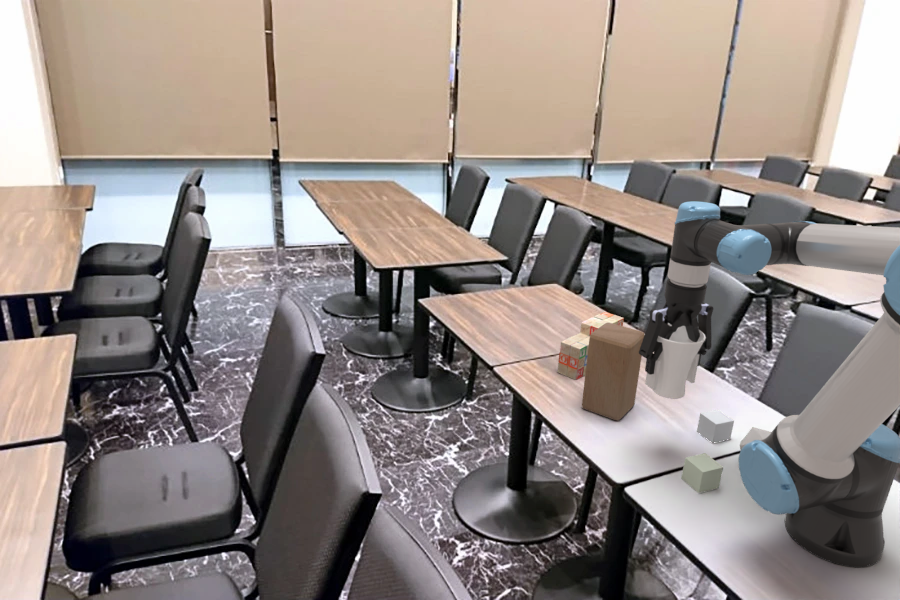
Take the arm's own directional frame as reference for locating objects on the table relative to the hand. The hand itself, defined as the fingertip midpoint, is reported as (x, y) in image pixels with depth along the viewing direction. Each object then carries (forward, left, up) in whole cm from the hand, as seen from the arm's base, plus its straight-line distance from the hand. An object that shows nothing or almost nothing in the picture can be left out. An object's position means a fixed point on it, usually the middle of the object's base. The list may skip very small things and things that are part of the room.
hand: (669, 383), depth 132 cm
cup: (0, 0, -2) cm, 2 cm away
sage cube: (-13, 0, -16) cm, 21 cm away
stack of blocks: (+40, -7, -16) cm, 44 cm away
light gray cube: (0, -15, -16) cm, 22 cm away
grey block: (-12, -16, -16) cm, 26 cm away
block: (+18, +1, -16) cm, 24 cm away
